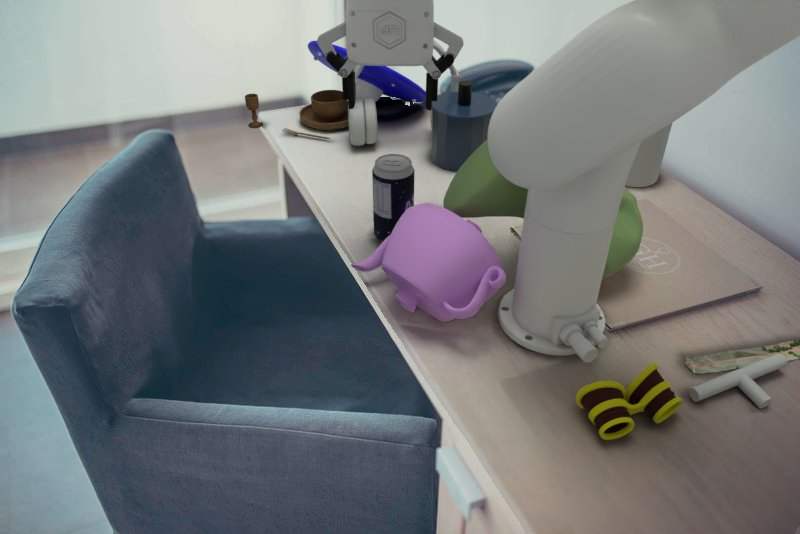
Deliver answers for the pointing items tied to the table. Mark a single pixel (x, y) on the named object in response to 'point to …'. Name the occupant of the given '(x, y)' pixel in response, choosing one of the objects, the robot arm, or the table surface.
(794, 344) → the bookmark
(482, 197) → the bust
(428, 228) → the teapot
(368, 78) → the toy spaceship
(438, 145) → the pot
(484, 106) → the pot lid
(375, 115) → the headphones
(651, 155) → the mug
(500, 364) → the table surface
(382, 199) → the beverage can
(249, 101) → the place setting
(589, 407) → the opera glasses
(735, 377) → the pipe joint
